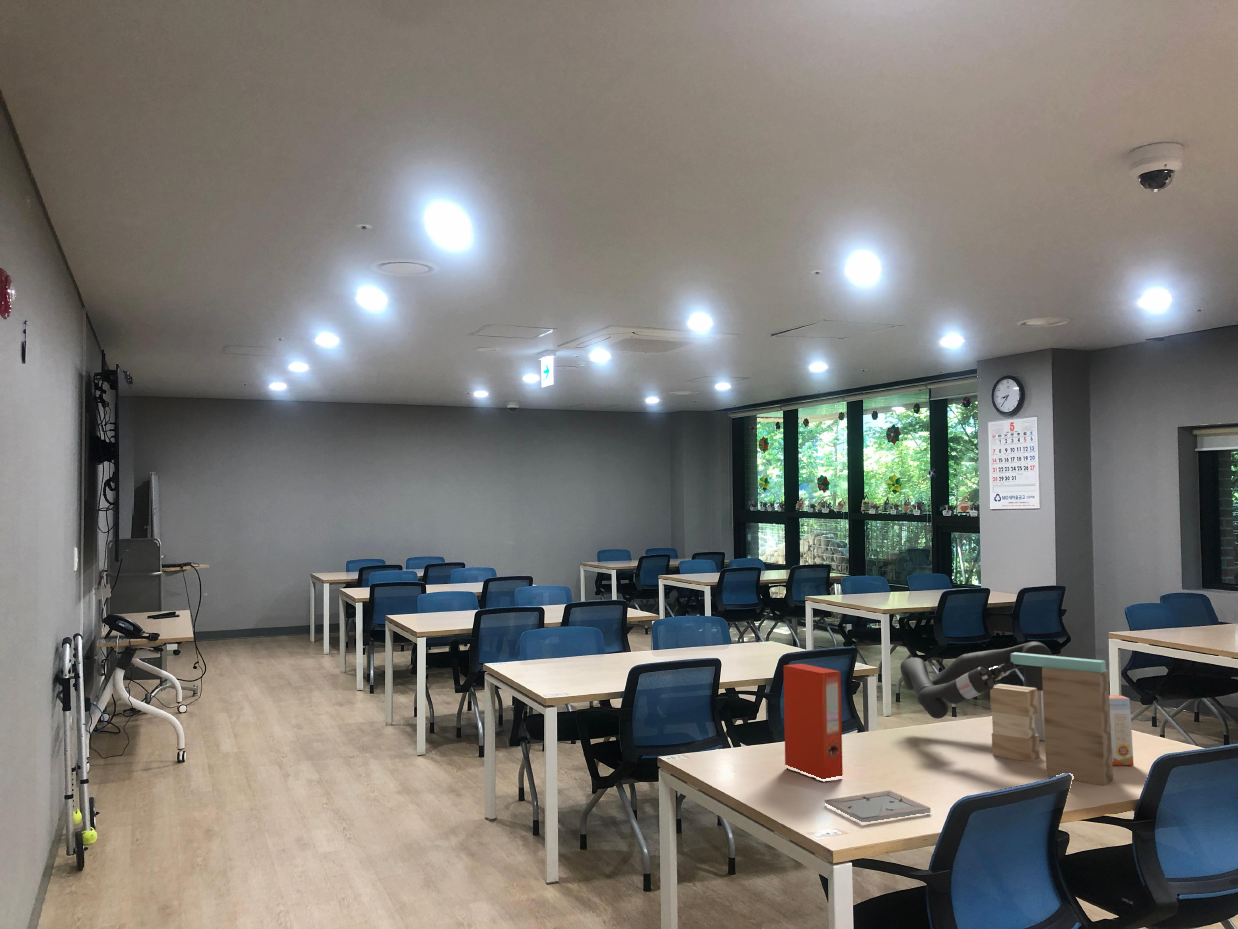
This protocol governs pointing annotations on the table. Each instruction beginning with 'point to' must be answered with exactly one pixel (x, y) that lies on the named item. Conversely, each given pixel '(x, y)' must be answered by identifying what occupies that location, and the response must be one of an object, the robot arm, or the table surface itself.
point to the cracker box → (1121, 730)
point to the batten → (1059, 662)
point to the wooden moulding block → (1077, 724)
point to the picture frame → (877, 806)
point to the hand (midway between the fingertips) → (1018, 662)
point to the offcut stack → (1014, 722)
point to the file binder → (813, 720)
